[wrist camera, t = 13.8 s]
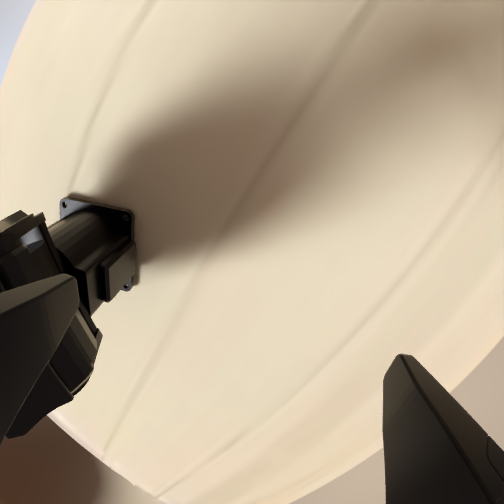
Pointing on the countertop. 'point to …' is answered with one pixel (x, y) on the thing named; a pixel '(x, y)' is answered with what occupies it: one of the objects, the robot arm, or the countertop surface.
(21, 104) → the countertop surface
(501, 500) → the robot arm
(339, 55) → the countertop surface
